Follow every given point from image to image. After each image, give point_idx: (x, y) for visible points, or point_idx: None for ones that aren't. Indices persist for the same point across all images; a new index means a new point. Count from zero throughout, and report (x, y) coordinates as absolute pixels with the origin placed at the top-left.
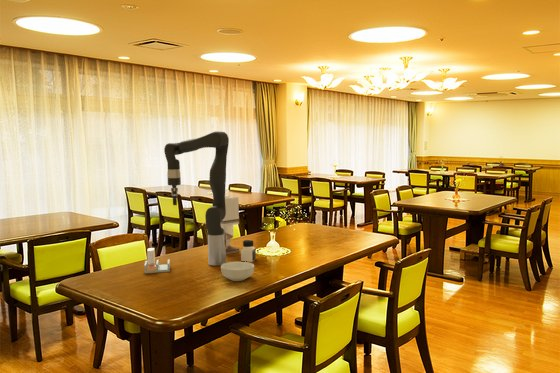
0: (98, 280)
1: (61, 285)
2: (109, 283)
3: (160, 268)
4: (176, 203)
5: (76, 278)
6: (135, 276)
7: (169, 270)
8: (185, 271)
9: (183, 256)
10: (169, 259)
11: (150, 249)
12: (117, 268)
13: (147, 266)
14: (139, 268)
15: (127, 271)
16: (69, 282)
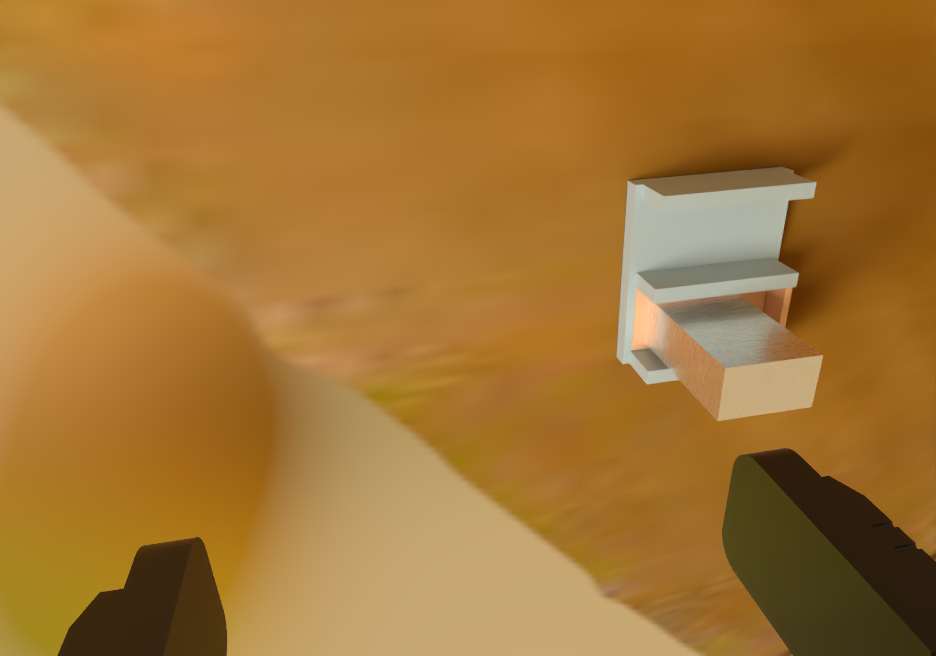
0: None
1: None
2: (873, 475)
3: (739, 245)
4: (817, 487)
5: (711, 640)
6: None
7: (787, 169)
8: (832, 29)
9: (267, 70)
10: (674, 196)
11: (772, 390)
12: (572, 521)
13: (647, 348)
14: (616, 394)
15: (666, 449)
16: (768, 641)
